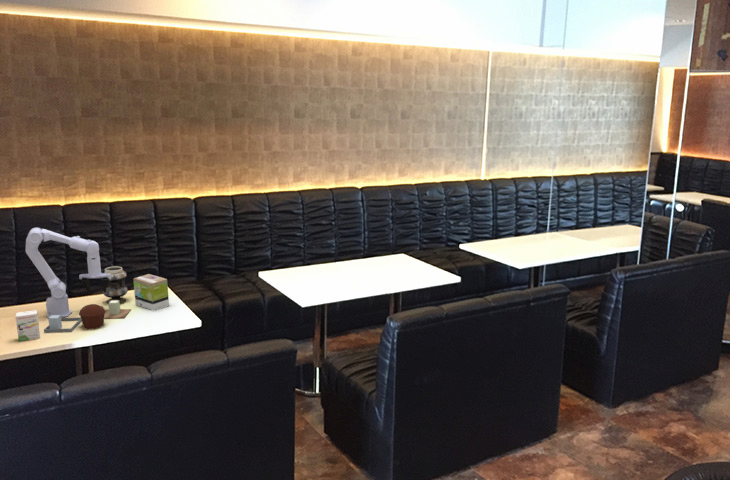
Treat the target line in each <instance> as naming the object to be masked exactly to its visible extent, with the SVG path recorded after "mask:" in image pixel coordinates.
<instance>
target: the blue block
mask: <svg viewBox="0 0 730 480" xmlns="http://www.w3.org/2000/svg"><path fill="white" fill-rule="evenodd" d="M47 318H48V325H49V328H50V329H63V321H61V318H62V317H61V315H52V316H50V317H47Z"/></svg>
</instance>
